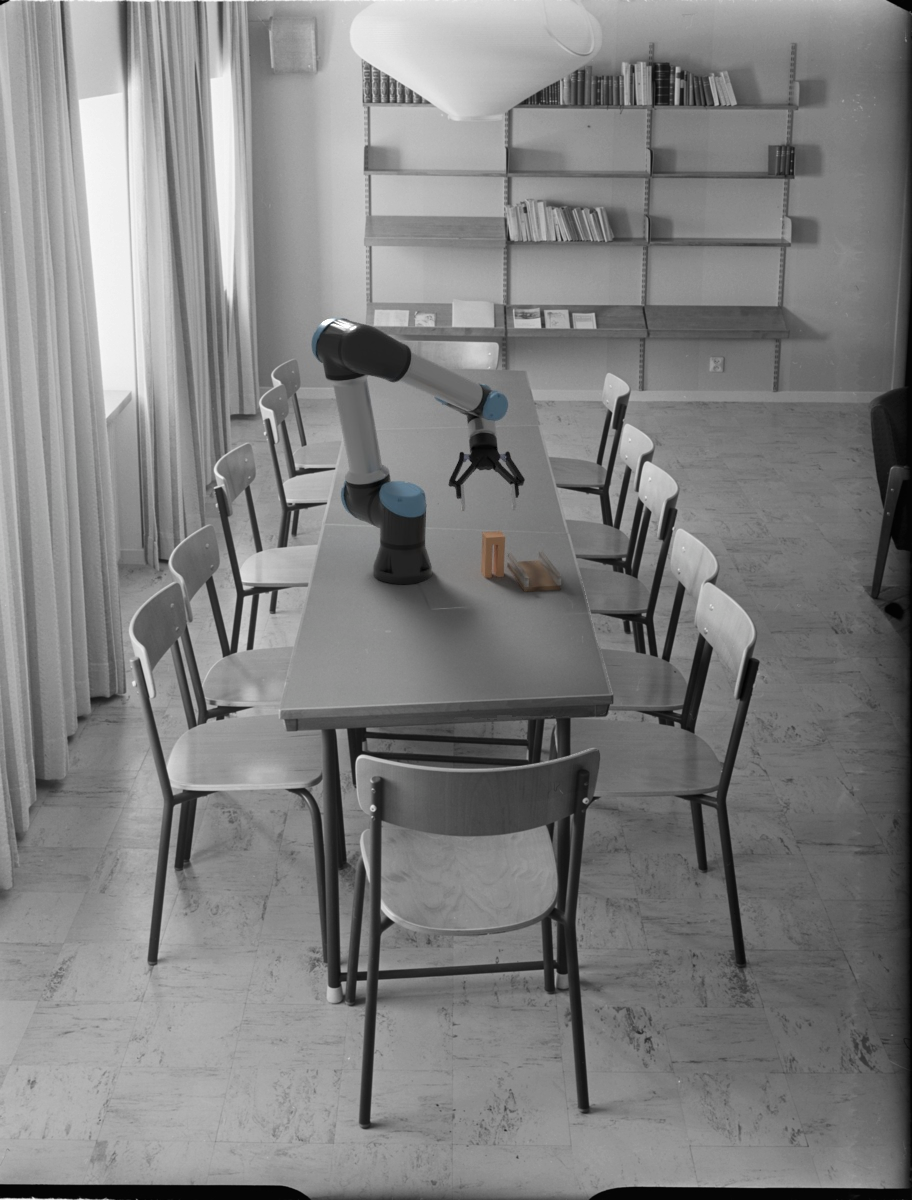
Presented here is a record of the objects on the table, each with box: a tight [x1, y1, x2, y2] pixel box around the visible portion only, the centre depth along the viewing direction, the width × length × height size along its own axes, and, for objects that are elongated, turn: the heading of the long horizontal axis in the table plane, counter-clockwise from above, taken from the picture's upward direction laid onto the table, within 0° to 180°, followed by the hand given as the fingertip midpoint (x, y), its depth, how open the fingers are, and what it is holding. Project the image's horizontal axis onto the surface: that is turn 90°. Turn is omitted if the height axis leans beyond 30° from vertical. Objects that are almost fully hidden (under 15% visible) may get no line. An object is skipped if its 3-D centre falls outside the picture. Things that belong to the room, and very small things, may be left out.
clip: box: [480, 530, 506, 579], centre depth 308 cm, size 5×4×11 cm
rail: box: [506, 551, 563, 593], centre depth 308 cm, size 10×18×4 cm, turn 12°
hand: (488, 508), depth 314 cm, fingers open, 13 cm apart
